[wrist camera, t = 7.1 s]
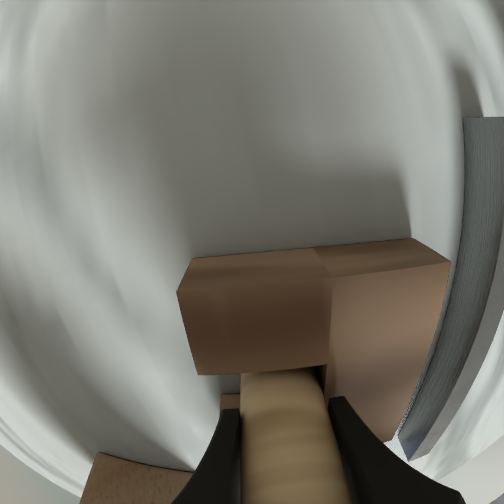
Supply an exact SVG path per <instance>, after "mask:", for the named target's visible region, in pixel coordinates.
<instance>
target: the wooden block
mask: <svg viewBox="0 0 504 504" xmlns="http://www.w3.org/2000/svg"><path fill="white" fill-rule="evenodd" d="M192 475H193V473H191V472H183V471H176V470H170V469H164V468H159V467H153V466H148V465H144V464H139V463H135V462H131V461H127V460H123V459H119V458H116V457H112V456H109V455H105V454H102V453H98V454H97V455H96V457H95V460H94V463H93V466H92V468H91V471H90V474H89V477H88V480H87V482H86V485H85V488H84V491H83V494H82V497H81V500H80V504H171V503H172V501H173V500H174V499H175V498H176V497H177V495H178V494H179V493H180V492H181V490H182V489H183V488H184V486H185V485H186V484H187V482H188V481H189V479H190V478H191V476H192Z"/></svg>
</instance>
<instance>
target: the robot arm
mask: <svg viewBox="0 0 504 504" xmlns="http://www.w3.org/2000/svg"><path fill="white" fill-rule="evenodd" d="M327 409H328V413H329V416H330V420H331V423H332V427H333V430H334V434H335V437H336V441H337V444H338V448H339V451H340V455H341V459H342V462H343V466H344V470H345V473H346V477H347V481H348V485H349V488H350V492H351V496H352V500H353V504H466V503H465V501H464V499H463V497H462V496H461V494H460V492H458V491H456V490H454V489H451V488H449V487H447V486H444V485H442V484H440V483H437V482H436V481H434V480H432V479H430V478H428V477H427V476H425V475H423V474H422V473H420V472H419V471H417V470H415V469H414V468H412V467H411V466H409V465H408V464H407V463H405V462H404V461H403V460H401V459H400V458H399V457H398V456H397V455H395V454H394V453H393V452H392V451H391V450H390V449H389V448H388V447H387V446H385V445H384V444H383V443H382V442H381V441H380V440H379V439H378V437H377V436H376V435H375V434H374V433H373V432H372V431H371V430H370V429H369V428H368V426H367V425H366V424H365V423H364V422H363V420H362V419H361V418H360V417H359V415H358V414H357V413H356V411H355V410H354V409H353V407H352V406H351V405H350V403H349V402H348V400H347V399H346V397H345V396H338V397H332V398H329V401H328V407H327ZM240 432H241V416H240V412H239V408H235V409H223V410H222V411H221V415H220V418H219V421H218V424H217V427H216V430H215V432H214V435H213V437H212V439H211V441H210V444H209V446H208V448H207V450H206V452H205V454H204V456H203V458H202V460H201V461H200V463H199V465H198V467H197V468H196V470H195V472H194V473H193V475H192V476H191V478H190V479H189V481H188V482H187V484H186V485H185V486H184V488H183V489H182V490H181V492H180V493H179V494H178V495H177V497H176V498H175V499H174V500H173V501H172V503H171V504H241V494H240ZM490 504H504V494H502V495H501V496H500V497H498V498H497V499H496V500H494V501H493V502H491V503H490Z"/></svg>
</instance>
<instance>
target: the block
mask: <svg viewBox="0 0 504 504" xmlns="http://www.w3.org/2000/svg"><path fill="white" fill-rule="evenodd" d="M450 266H451V261H450V260H448V259H446V258H445V257H443V256H442V255H440V254H439V253H437V252H435V251H434V250H432V249H430V248H429V247H427V246H426V245H424V244H422V243H421V242H419V241H417V240H416V239H414V238H411V239H400V240H389V241H378V242H368V243H357V244H346V245H335V246H324V247H313V248H302V249H292V250H281V251H270V252H259V253H248V254H237V255H226V256H215V257H204V258H193V259H192V260H191V262H190V264H189V266H188V268H187V270H186V273H185V275H184V277H183V279H182V281H181V283H180V285H179V287H178V289H177V291H176V293H177V297H178V302H179V306H180V310H181V314H182V318H183V323H184V326H185V330H186V334H187V338H188V342H189V346H190V349H191V353H192V357H193V360H194V364H195V367H196V371H197V374H198V375H222V374H241V373H255V372H267V371H277V370H287V369H295V368H303V367H310V366H315V369H316V372H317V376H318V379H319V382H320V386H321V389H322V392H323V396H324V399H325V403H326V406H327V407H328V401H329V398H332V397H338V396H345V397H346V399H347V400H348V402H349V403H350V405H351V406H352V407H353V409H354V410H355V411H356V413H357V414H358V415H359V417H360V418H361V419H362V420H363V422H364V423H365V424H366V425H367V426H368V428H369V429H370V430H371V431H372V432H373V433H374V434H375V435H376V436H377V437H378V439H379V440H380V441H381V442H382V443H384V442H387V441H390V440H392V438H393V436H394V434H395V432H396V430H397V428H398V426H399V424H400V422H401V420H402V418H403V416H404V414H405V412H406V410H407V407H408V405H409V403H410V401H411V398H412V396H413V394H414V391H415V389H416V386H417V384H418V381H419V379H420V376H421V373H422V371H423V368H424V365H425V362H426V360H427V357H428V354H429V351H430V348H431V345H432V341H433V338H434V335H435V331H436V328H437V324H438V321H439V317H440V313H441V309H442V305H443V301H444V296H445V292H446V287H447V282H448V277H449V271H450ZM235 408H239V412H240V394H230V395H221V404H220V415H221V411H222V410H223V409H235ZM219 418H220V416H219Z"/></svg>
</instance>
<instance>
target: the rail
mask: <svg viewBox="0 0 504 504" xmlns="http://www.w3.org/2000/svg"><path fill="white" fill-rule="evenodd" d="M463 127H464V142H465V199H464V214H463V225H462V234H461V242H460V249H459V256H458V262H457V268H456V273H455V278H454V283H453V288H452V293H451V297H450V301H449V305H448V309H447V313H446V317H445V320H444V324H443V327H442V331H441V334H440V337H439V341H438V344H437V347H436V350H435V353H434V356H433V358H432V361H431V364H430V367H429V369H428V372H427V374H426V377H425V379H424V382H423V384H422V387H421V389H420V392H419V394H418V396H417V398H416V401H415V403H414V405H413V407H412V409H411V411H410V413H409V416H408V418H407V420H406V422H405V424H404V426H403V427H402V429H401V431H400V433H399V435H398V439H399V441H400V443H401V446H402V448H403V450H404V453H405V455H406V457H407V460H408V462H409V461H412V460H414V459H417V458H419V457H422V456H424V455H426V454H428V453H429V452H430V451H431V449H432V448H433V447H434V445H435V444H436V442H437V441H438V440H439V438H440V437H441V435H442V434H443V433H444V431H445V430H446V428H447V427H448V425H449V424H450V422H451V420H452V419H453V417H454V416H455V414H456V412H457V411H458V409H459V407H460V406H461V404H462V402H463V401H464V399H465V397H466V395H467V393H468V392H469V390H470V388H471V386H472V384H473V382H474V380H475V378H476V376H477V374H478V372H479V370H480V368H481V366H482V364H483V362H484V359H485V357H486V355H487V353H488V350H489V348H490V345H491V343H492V341H493V338H494V336H495V333H496V330H497V328H498V325H499V322H500V319H501V316H502V313H503V310H504V117H472V118H463Z"/></svg>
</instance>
